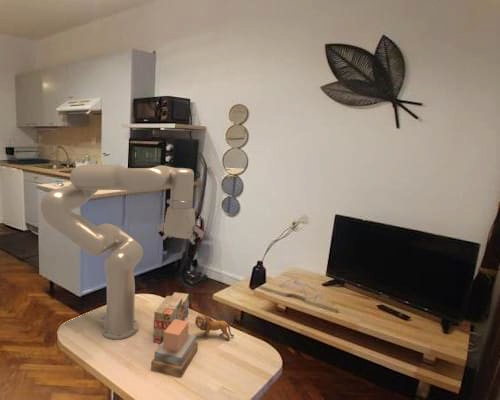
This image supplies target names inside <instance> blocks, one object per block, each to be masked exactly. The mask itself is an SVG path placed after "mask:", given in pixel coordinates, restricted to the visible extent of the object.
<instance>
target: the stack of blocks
mask: <svg viewBox="0 0 500 400" xmlns="http://www.w3.org/2000/svg"><path fill="white" fill-rule="evenodd" d="M189 297H190V295H189V293H183V292H176V291H175V292H173V294H172V295H166V296H165V298H164V300H163V301H162V302H161V303H160V304H159V306H158V307H157V308H156V310H155V311H154V313H153V314H154V316H153V317H154V318H153V319H154V320H153V340H152V341H153V343H154V344H159V345H160V344H161V343H162V342H163V340H164V331H165V330H166V329H167V328H168V326H169V325H170V324H171V323H172V322H173V321H174V319H178V320H182V321H186V319H187V317H188V316H189V305H190V304H189V303H190V301H189Z"/></svg>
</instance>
